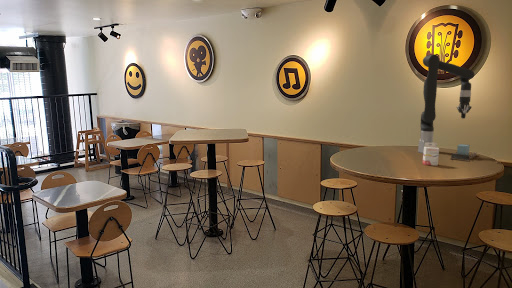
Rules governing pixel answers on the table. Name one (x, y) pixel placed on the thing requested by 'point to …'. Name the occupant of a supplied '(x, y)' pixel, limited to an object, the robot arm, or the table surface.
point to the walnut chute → (462, 156)
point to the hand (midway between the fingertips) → (463, 118)
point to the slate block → (463, 149)
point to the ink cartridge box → (430, 154)
